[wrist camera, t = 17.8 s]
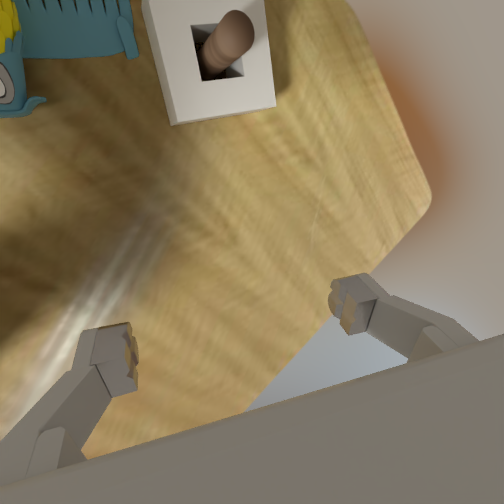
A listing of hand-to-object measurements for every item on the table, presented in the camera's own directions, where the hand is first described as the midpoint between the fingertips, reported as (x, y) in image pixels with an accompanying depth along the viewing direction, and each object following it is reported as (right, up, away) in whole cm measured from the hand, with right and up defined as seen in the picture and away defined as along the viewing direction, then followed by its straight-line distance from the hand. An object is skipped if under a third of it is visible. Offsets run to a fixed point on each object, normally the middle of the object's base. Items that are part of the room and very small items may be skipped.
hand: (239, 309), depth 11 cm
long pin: (-5, +25, +24) cm, 36 cm away
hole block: (-5, +25, +24) cm, 36 cm away
